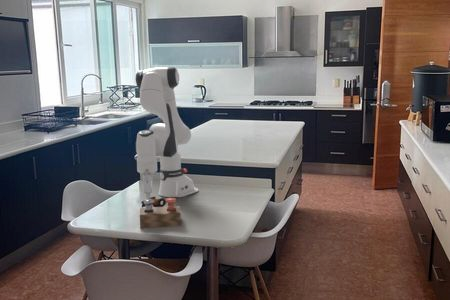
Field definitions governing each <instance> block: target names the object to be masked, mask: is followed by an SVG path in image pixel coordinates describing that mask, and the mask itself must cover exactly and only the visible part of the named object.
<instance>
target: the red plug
mask: <svg viewBox="0 0 450 300" xmlns="http://www.w3.org/2000/svg"><path fill="white" fill-rule="evenodd" d="M165 200H166V204H167V207H168V211H175V206H176V205H175V203H177V197H166V198H165Z"/></svg>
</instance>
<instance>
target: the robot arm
mask: <svg viewBox="0 0 450 300" xmlns="http://www.w3.org/2000/svg"><path fill="white" fill-rule="evenodd" d="M179 82H180V73H179V72H178V69H177V68H176V67H174V66H168V67H166V66H164V67H163V66H157V67H151V68H146V69H144V68H143V69H141V70H140V69H139V70H138V71H137V72H136V74H135V84H136V87H137V88H138V89H139V103H140V105H141V108H142V109H143V110H145V111H146V112H147V113H149V114H152V115H155V116H157V117H158V118H159V119H160V120H162V122H158V123H153V124H152V125H151V126H150V127H149V129H144V130H140V131H138V133H137V135H136V141H135V143H134V144H135V152H136V155H137V158H136V171H137V173H139V175H140V177H142V192H143V194H145V196H146V198H145V199H148V198H151V193H152V192H153V179H154V175H155V173H156V172H158V159H157V157H159V163H160V164H159V165H160V168H159V178H160V183H159V189H158V190H159V191H158V194H157V195H158V196H161V197H163V198H164V197H165V198H184V197H186V196H188V195H192V194H195V193H198V192H199V189H198V188H197V187H195V184H194V181H193V179H191V178H190V177H188V176H187V175H186V174H184V173H187V172H188V169H187V168H183V167H181V166H182V164H181V163H182V162H181V153H180V152H179V151H178V150H179V146H182V145H186V144H188V143H189V142H190V140H191V137H192V133H191V129H190V128H189V126H187V125H186V124H185V123H184V122H183V120H182V119H181V117H180V114H179V111H178V108H177V103H176V94H175V90H174V89H175V88H176V87H178V85H179V84H180V83H179Z"/></svg>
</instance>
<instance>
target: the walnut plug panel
mask: <svg viewBox="0 0 450 300" xmlns="http://www.w3.org/2000/svg"><path fill="white" fill-rule="evenodd" d="M152 211H153V212H146V207H143V208H142V207H140V209H139V228H140V229H145V228H146V229H149V228H161V227H163V228H164V227H178V226H179V227H180V226H182V213H181V206H180V205H175V211H168V206H163V207H152Z"/></svg>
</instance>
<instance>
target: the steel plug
mask: <svg viewBox="0 0 450 300" xmlns="http://www.w3.org/2000/svg"><path fill="white" fill-rule="evenodd" d="M143 201H144V204H145V205H146V207H145V208H146V212H153V211H152V206H153V205H152V204H153V203H154V199H148V198H145V199H144V200H143Z"/></svg>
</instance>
